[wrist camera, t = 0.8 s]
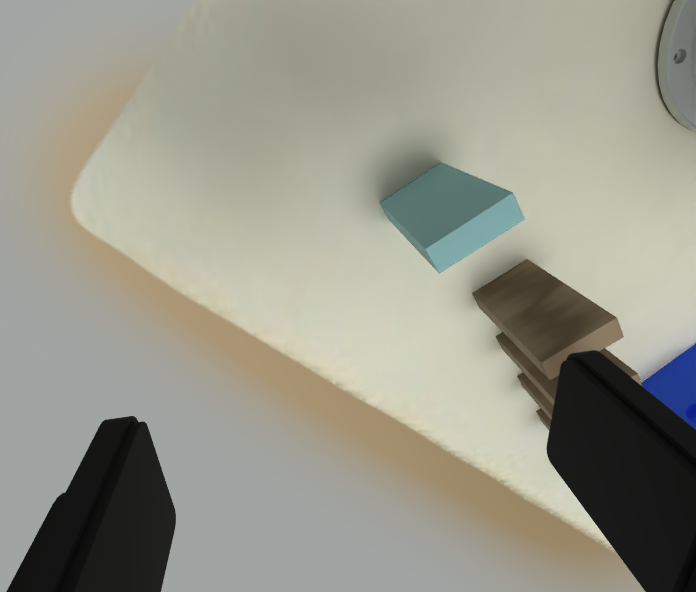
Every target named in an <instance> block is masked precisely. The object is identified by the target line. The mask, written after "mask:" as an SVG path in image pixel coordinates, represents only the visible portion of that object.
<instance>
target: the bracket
mask: <svg viewBox="0 0 696 592" xmlns="http://www.w3.org/2000/svg"><path fill="white" fill-rule="evenodd" d="M641 384H642V387H644V388H645V389H646V390H647V391H649V392H650V393H651V394H652V395H653V396H655V397H656V398H657V399H658V400H660V401H661V402H662V403H663V404H665V405H666V406H667V407H668V408H669V409H671V410H672V411H673V412H674V413H676V414H677V415H678V416H679V417H681V418H682V419H683V420H684V421H685V422H687V423H688V424H689V425H690V426H692V427H693V428H694V429H695V430H696V344H695V345H693V346H692V347H691V348H689V349H688V350H687V351H685V352H684V353H682V354H681V355H680V356H678V357H677V358H676V359H674V360H673V361H671V362H670V363H669V364H667V365H666V366H664V367H663V368H662V369H660V370H659V371H658V372H656V373H655V374H653V375H652V376H651V377H649V378H648V379H647V380H645V381H644V382H642V383H641Z"/></svg>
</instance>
